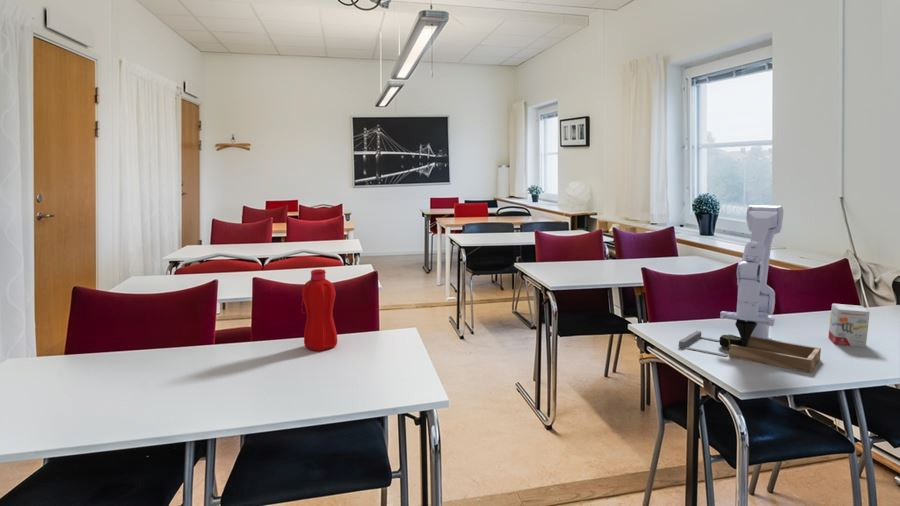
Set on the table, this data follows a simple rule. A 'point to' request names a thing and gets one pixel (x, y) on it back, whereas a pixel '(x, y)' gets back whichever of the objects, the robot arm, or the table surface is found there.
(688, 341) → the bay
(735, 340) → the tape measure
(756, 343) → the open frame
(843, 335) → the ink box
